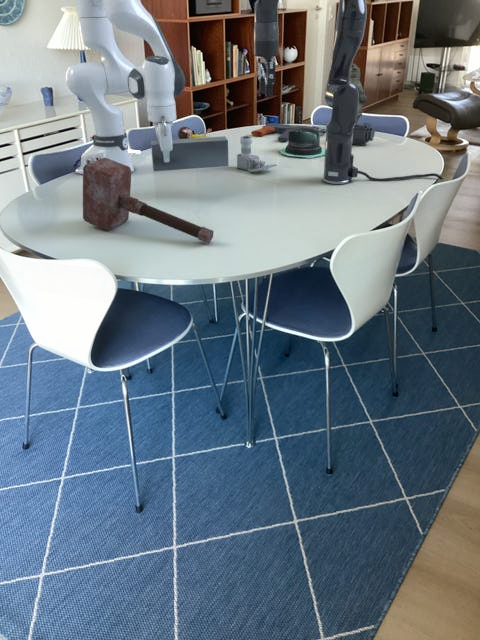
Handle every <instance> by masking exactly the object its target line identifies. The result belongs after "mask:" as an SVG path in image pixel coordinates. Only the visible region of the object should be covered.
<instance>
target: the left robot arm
mask: <svg viewBox="0 0 480 640" xmlns="http://www.w3.org/2000/svg"><path fill="white" fill-rule="evenodd" d="M76 6H77V7H76V9H77V18H78V23H79V31H80V38H81V42H82V43H83V45H84V46H85V47H87V48H88V49H89V50H91V51H93V52H96V53H98V54H99V55H100V57H101V60H99V61H88V62H79V63H76V64H73V65H70V66H69V67H68V69H67V70H66V74H65V81H66V85H67V87H68V89H69V90H70V92H71V93H72V94H74V96H76V97H78V98H79V99H80V100H81V101H83V103H85V105H86V106H87V108H88V109H89V111H90V114H91V118H92V122H93V127H94V133H95V134H93V135H92V136H90V137H89V141H92V145H91V146H90V147H88V148H87V149H86V150H85V151H84V152H83V153H82V154H81V155H80V156H79V159H77V160H76V161H75V163H73V167H77V166H78V164H79V163H80V166H79V167H77V168H76V169H75V174H79V175H83V167H84V166H85V165H86V164H89V163H92V162H94V161H97V160H100V159H102V158H108V159H111V160H113V161H116V162H118V163H121V164H123V165H126V166H129V167H130V169H131V173H133V172H134V171H135V168H134V165H133V164H132V160H131V156H130V153H132V154H141V150H139V149H138V150H137V149H129V142H128V135H127V132H126V126H125V119H124V118H125V117H124V112H123V111H122V110H121V108H120V107H118V106H116V105H114V104H112V103H109V102H107V101H106V97H105V96H106V95H116V94H118V95H119V94H125V93H130V94H131V95H132V97H134V98H135V99H137V100H141V101H146V110H147V120H148V122H150V123H152V127H154V130H155V135H156V138H157V141H158V142H159V145H160V148H161V151H163V158H164V162H169V161H170V159H169V153H170V151H172V149H173V145H172V140H173V135H172V126H174V122H175V121H176V120H177V104H176V100H175V99H176V98H179V96H180V95H182V93H183V91H184V89H185V87H186V77H185V74H184V71H183V70H182V68H181V66H180V65H179V63H178V62H177V60H176V58H175V57H174V54H173V52H172V50H171V48H170V46H169V43H168V41H167V39H166V37H165V35H164V33H163V30H162V28H161V26H160V24H159V23H158V21H157V18H156V17H155V16H154V15H153V14H152V13H150V12H149V11H148V10H147V9H146V8H145V7H144V5H143V4H142V2H141V1H140V0H76ZM114 27H115V28H116V29H118V30H120V31H122V32H125V33H128V34H132V35H134V36H137V37H138V38H141V39H142V40H144V41H145V42H146V43H147V44H148V45H149V47H150V48H151V51H152V52H153V55H149V56H147V57H146V58H144V60H143V63H142V64H140V65H139V66H137V67H136V65H135V64H134V63H133V62H132V61H131V60H129V59H127V57H125V56H124V54H123V53H122V52H121V50H120V49H119V46H118V45H117V41H116V37H115V32H114Z"/></svg>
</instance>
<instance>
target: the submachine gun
mask: <svg viewBox="0 0 480 640" xmlns="http://www.w3.org/2000/svg"><path fill="white" fill-rule="evenodd" d="M298 128H311V129H316V130H318V131H319V132H320V137H323V136H324V135H326V128H322V129H320V127H319V126H309V125H298V124H288V123H286V124H285V123H273V122H269V123H265V125H262V127H261V128H258V129H254V130H252V131H251V132H250V133H251V134H250V135H251V136H255V137H262V136H264V135H266V134H271V133H278V134H280V135H279V136H278V137H277V141H278V142H288V140H289V131H291V130H294V129H298Z"/></svg>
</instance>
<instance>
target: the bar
mask: <svg viewBox="0 0 480 640" xmlns="http://www.w3.org/2000/svg"><path fill="white" fill-rule="evenodd" d="M149 142H150V152H151V162H152V169H153V172H163V171H178V170H180V171H181V170H193V169H194V170H195V169H205V168H206V169H208V168H221V167H222V168H223V167H229V166H230V165H229V140H228V138H227V137H226V136H207V138H190V139H179V138H177V139H176V138H175V139H172V145H173V149H172V151H170V153H169V159H170V161H169V162H164V158H163V151H161V148H160V145H159V142H158V140H150V141H149Z"/></svg>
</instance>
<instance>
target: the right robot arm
mask: <svg viewBox="0 0 480 640" xmlns="http://www.w3.org/2000/svg"><path fill="white" fill-rule="evenodd" d="M279 1H280V0H256V2H255V3H254V27H253V55H254V56H255V57H258V58H257V75H256V76H257V79H258V81H259V94H261V95H263V94H264V95H265V98H267V99H270V98H273V97H274V84H275V83H276V81H277V80H276V64H277V63H276V61H273V57H277V56H279V46H280V45H279V44H280V43H279V39H280V38H279V37H280V33H279V32H280V29H279V28H280V27H279ZM367 7H368V6H367V0H338V8H337V14H336V22H335V30H334V39H333V47H332V53H331V54H332V55H331V61H330V68H329V73H328V76H327V81H326V85H325V88H324V89H325V90H324V100H325V103H326V104H327V106H328V107H330V108H331V118H330V120H329V121H328V122H327V123H326V128H325V131H326V133H325V145H324V149H325V155H324V163H323V175H322V182H324V183H326V184H330V185H345V184H348V183H351V182H352V181H353V179H354V178H358V174H359V175H363V176H364V177H366V178H367V179H368V180H370V181H374V182H388V181H398V180H399V181H400V180H401V181H402V180H408V179H414V178H415V179H416V178H428V177H436V178H438V179H439V180H444V178H443V176H442V175H440V174H438V173H432V172H431V173H424V174H411V175H404V176H394V177H393V176H392V177H386V178H383V177H382V178H379V177H372V176H370V175H369V174H368V173H367V172H365V171H362V170H359V168H358V167H356V166H354V159H355V158H354V157H355V156H354V154H353V153H352V152H353V144H352V140H353V129H354V125H355V123H356V120H357V112H358V104H359V92H358V89H357V87H356V86H355V85H354V84H353V83H350V82H349V80H350V78H351V77H350V72H351V66H352V64H353V62H354V59H355V57H356V55H357V53H358V51H359V49H360V47H361V44H362V42H363V39H364V35H365V30H366V24H367V16H368V8H367Z"/></svg>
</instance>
